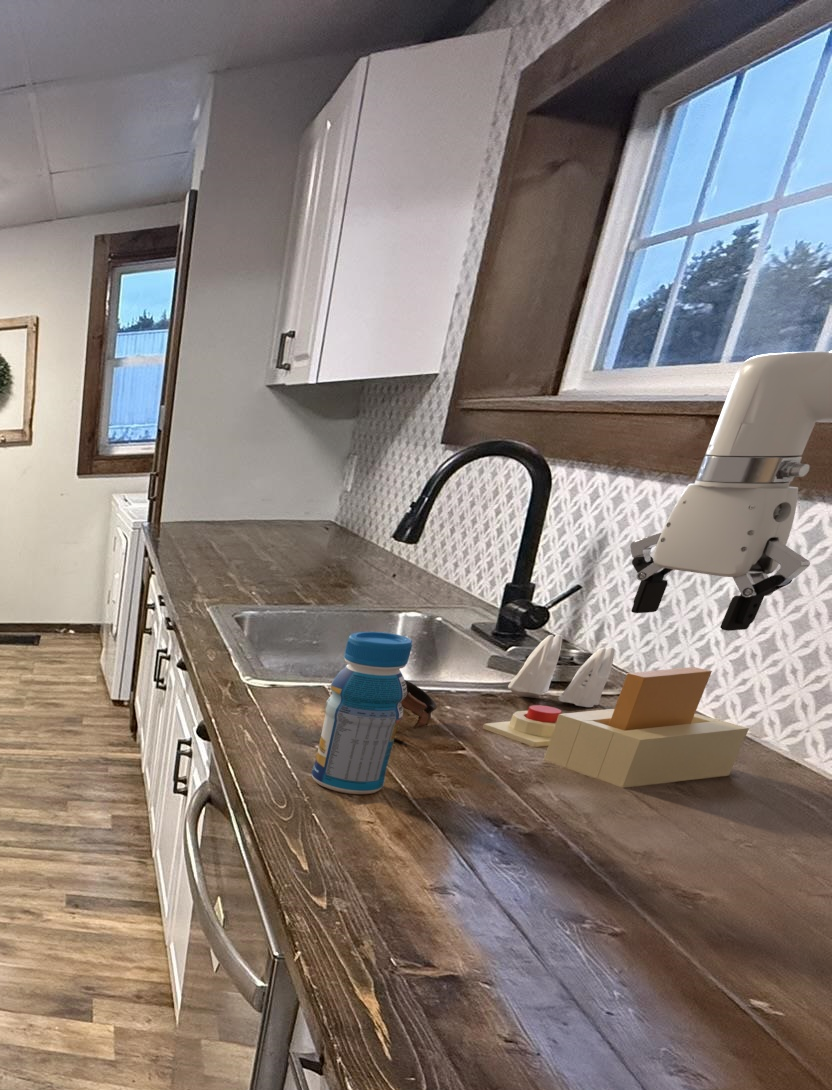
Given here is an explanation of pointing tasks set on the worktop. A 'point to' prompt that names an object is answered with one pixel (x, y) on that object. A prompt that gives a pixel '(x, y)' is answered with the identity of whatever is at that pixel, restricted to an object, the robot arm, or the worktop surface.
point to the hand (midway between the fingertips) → (686, 620)
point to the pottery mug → (418, 704)
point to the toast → (659, 698)
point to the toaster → (644, 749)
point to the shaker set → (581, 688)
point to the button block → (523, 729)
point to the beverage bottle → (363, 714)
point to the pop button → (543, 713)
